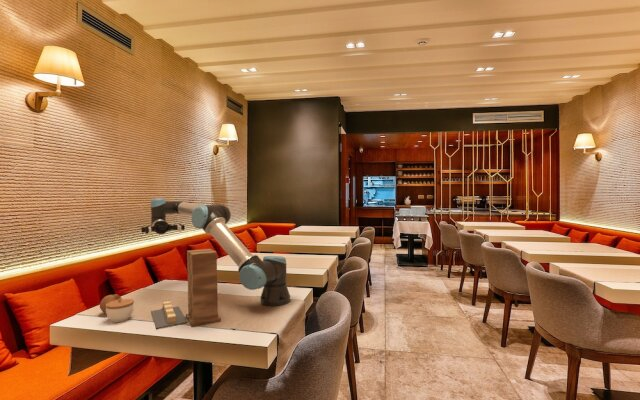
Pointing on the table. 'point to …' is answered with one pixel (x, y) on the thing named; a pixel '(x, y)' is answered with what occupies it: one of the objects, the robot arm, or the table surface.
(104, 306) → the onion
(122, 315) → the lidded jar
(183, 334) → the table surface
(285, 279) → the robot arm
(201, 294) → the walnut pedestal
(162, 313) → the rubber mat
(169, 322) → the maple bar
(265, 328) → the table surface
